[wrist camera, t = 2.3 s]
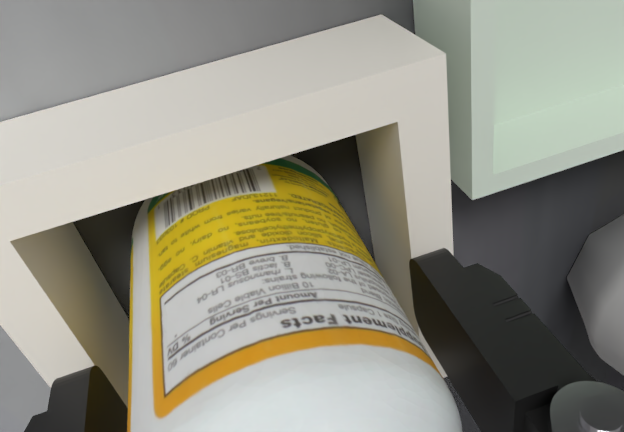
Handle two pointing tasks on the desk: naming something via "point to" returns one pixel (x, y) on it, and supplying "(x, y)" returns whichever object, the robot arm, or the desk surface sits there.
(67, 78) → the desk surface
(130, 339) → the supplement bottle
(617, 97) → the tray
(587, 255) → the salt shaker
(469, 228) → the desk surface
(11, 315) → the white square frame
